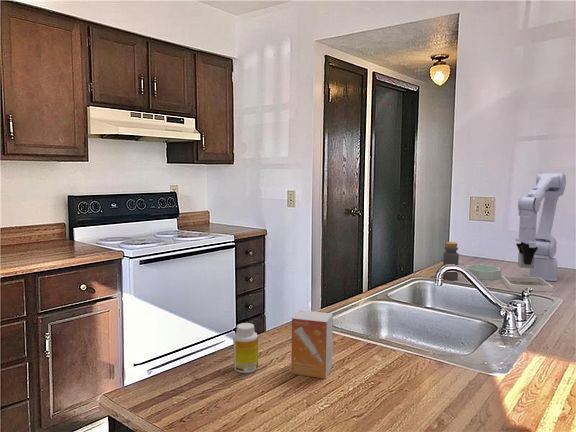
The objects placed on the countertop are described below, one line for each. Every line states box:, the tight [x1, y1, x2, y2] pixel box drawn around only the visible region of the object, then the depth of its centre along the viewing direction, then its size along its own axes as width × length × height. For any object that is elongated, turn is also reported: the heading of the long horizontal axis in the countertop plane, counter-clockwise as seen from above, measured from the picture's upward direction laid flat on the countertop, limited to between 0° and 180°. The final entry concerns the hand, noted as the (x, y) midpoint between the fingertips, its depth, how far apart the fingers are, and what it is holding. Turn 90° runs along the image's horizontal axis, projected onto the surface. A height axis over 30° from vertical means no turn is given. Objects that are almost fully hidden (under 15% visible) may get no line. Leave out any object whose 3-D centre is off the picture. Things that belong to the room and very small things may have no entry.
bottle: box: [442, 241, 459, 282], centre depth 190 cm, size 6×6×15 cm
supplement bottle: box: [232, 322, 259, 374], centre depth 106 cm, size 6×6×10 cm
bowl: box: [464, 263, 502, 281], centre depth 196 cm, size 13×13×4 cm
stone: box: [517, 252, 534, 269], centre depth 179 cm, size 4×4×5 cm
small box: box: [290, 309, 334, 380], centre depth 105 cm, size 8×6×13 cm
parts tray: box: [500, 275, 554, 293], centre depth 180 cm, size 15×15×2 cm
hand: (525, 263), depth 179 cm, fingers closed on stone, 4 cm apart
